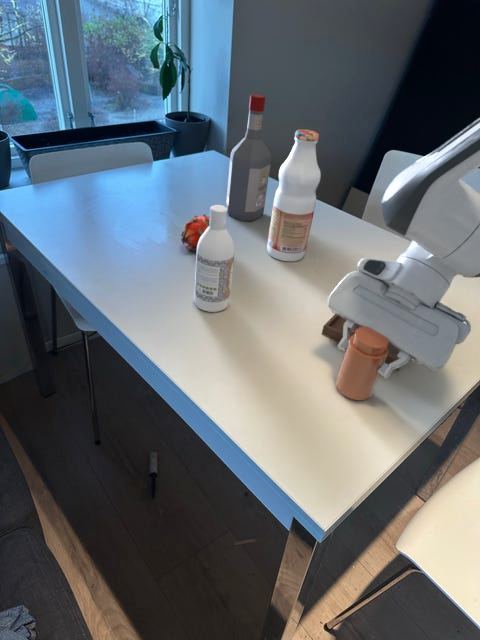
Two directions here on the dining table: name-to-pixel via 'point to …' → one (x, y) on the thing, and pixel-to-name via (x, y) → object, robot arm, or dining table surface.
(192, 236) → the dragon fruit
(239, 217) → the liquor
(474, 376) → the dining table surface
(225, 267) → the bath foam
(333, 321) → the tray
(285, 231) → the fruit juice
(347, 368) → the jar
